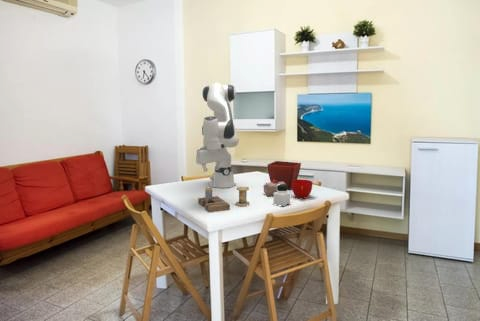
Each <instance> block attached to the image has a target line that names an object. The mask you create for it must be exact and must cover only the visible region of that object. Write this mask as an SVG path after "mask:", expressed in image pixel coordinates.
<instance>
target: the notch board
mask: <svg viewBox="0 0 480 321" xmlns="http://www.w3.org/2000/svg"><path fill="white" fill-rule="evenodd" d="M197 200H198V201H197V202H198V205H200V206H202V207H204V208H205V210H206V211H208V212H209V213H215V211H216V212H222V211H223V212H224V211H230V210H231V208H230V206H231V205H230V204H229V203H228V202H227V201H225V200H223V198H221V197H219V196H217V195H215V196H214V195H213V196H212V203H207V204H205V196H204V197H198V199H197ZM208 212H207V213H208Z"/></svg>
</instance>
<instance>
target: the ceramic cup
mask: <svg viewBox="0 0 480 321" xmlns="http://www.w3.org/2000/svg"><path fill="white" fill-rule="evenodd" d="M312 189H313V180H308V179H297V180H293V181H292V188H291V190H292V193H293V194H294V196H295V197H296V198H297V197H298V199H307V198H308V197H309V196H310V195H311V192H312ZM306 197H307V198H306Z"/></svg>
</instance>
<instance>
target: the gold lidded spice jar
mask: <svg viewBox="0 0 480 321" xmlns="http://www.w3.org/2000/svg"><path fill="white" fill-rule="evenodd" d="M204 190H205V191H204V197H205V204H207V203H212V197H213V187H205V189H204Z"/></svg>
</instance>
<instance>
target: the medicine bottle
mask: <svg viewBox="0 0 480 321" xmlns="http://www.w3.org/2000/svg"><path fill="white" fill-rule="evenodd" d="M272 203H273V204H272V205H274V204H276V205H275V206H278V205H281V206H280V207H282V206H284V207H286V206H288V205H287V204H289V205H290V204H291V192H288V189H287V185H286V184H278V185H277V192H275V193H274V196H273V202H272ZM285 205H286V206H285Z"/></svg>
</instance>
